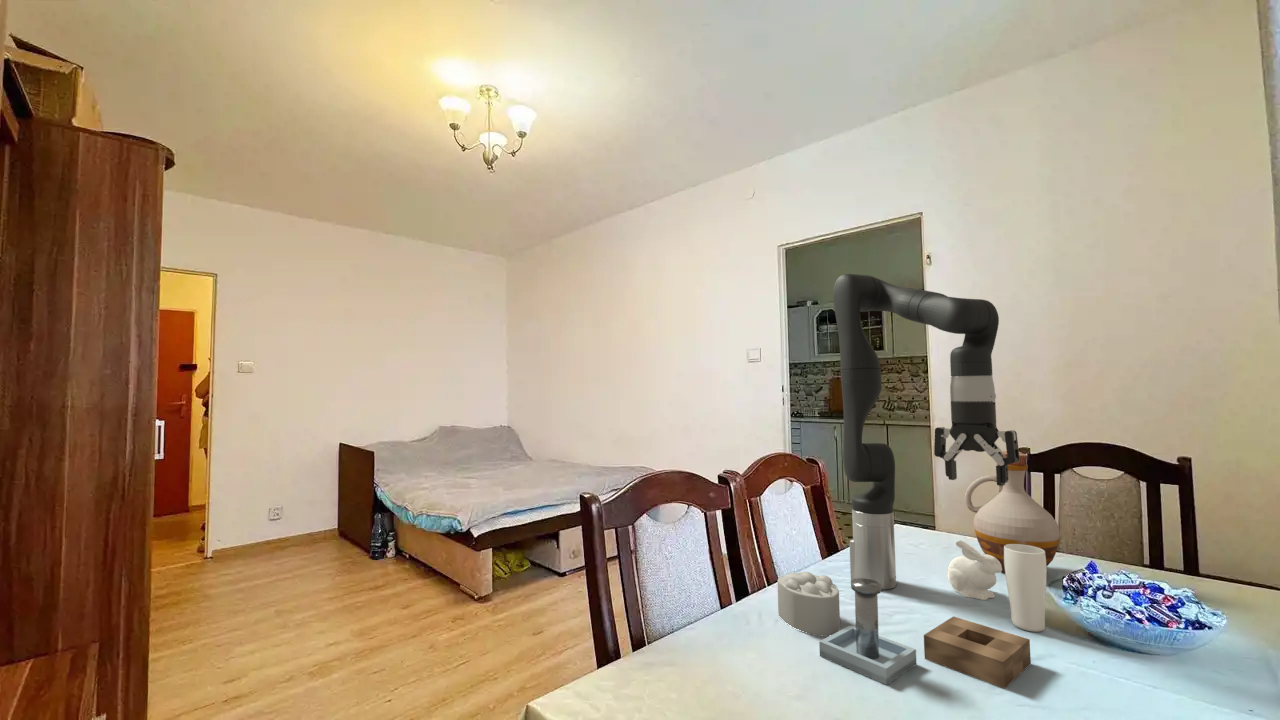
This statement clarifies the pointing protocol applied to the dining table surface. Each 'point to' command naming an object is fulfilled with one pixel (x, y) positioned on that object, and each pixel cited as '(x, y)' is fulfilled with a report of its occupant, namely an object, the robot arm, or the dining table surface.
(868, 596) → the pin
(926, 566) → the dining table surface
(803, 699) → the dining table surface
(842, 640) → the tray
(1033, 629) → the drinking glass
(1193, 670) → the dining table surface
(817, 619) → the lumpy-topped squat cylinder
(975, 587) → the rabbit
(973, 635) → the socket block
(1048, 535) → the jug
